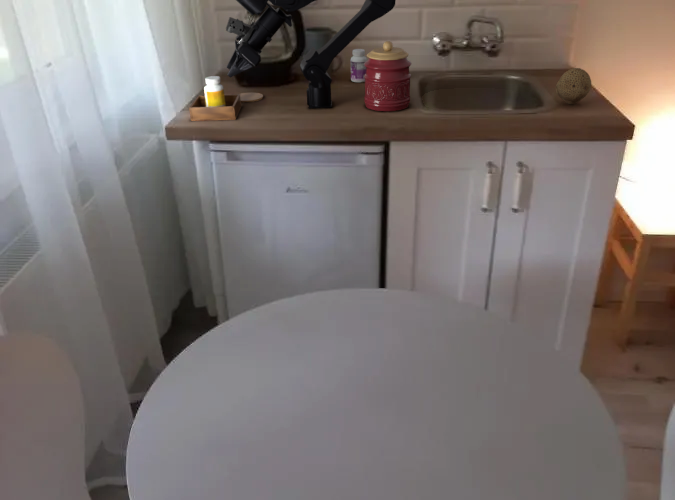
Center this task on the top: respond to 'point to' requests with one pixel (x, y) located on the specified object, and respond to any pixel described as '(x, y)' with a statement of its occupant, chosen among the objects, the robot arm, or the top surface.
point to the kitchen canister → (387, 79)
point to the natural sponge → (573, 85)
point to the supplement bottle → (214, 92)
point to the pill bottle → (358, 65)
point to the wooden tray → (215, 109)
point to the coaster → (250, 97)
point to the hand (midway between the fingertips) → (228, 72)
